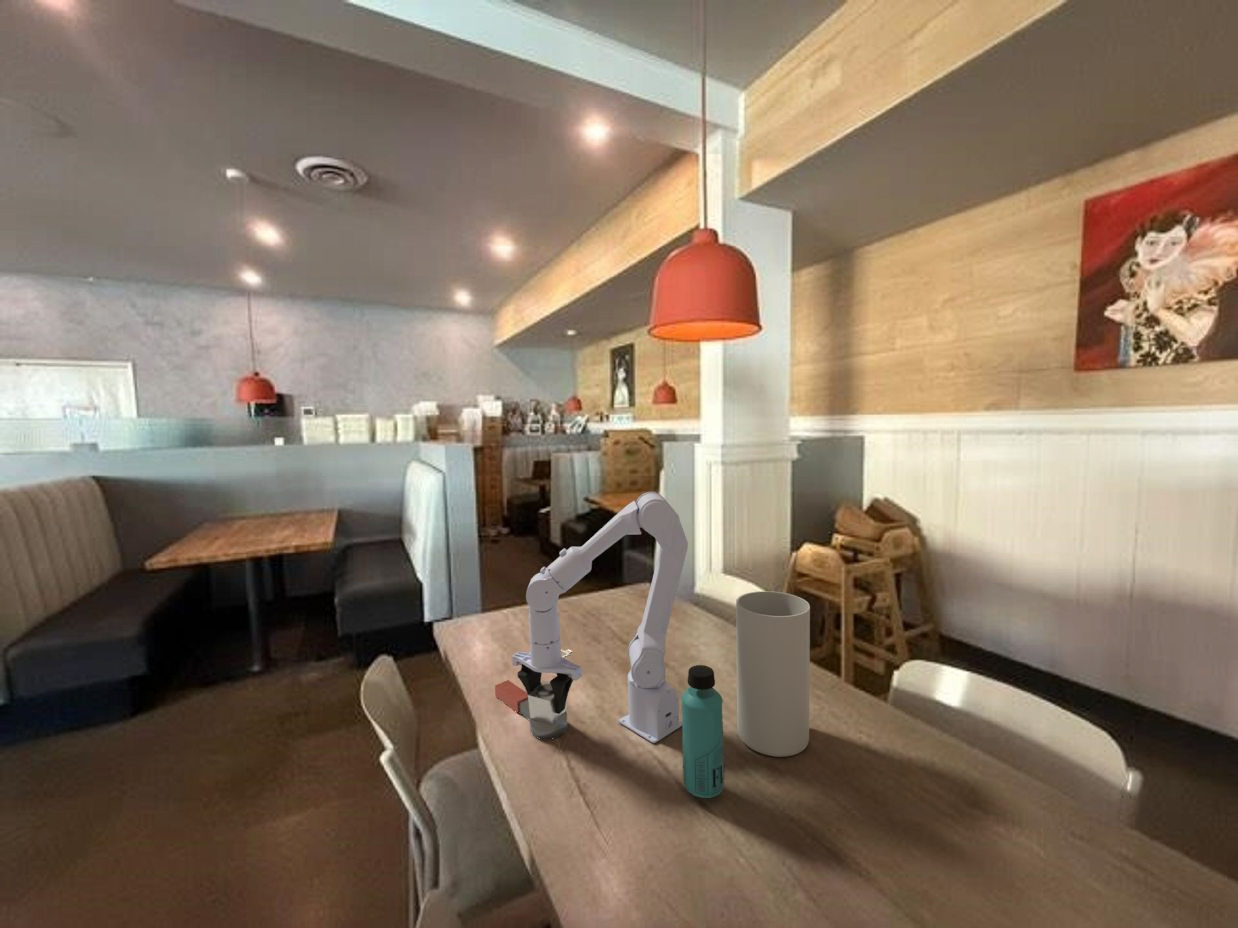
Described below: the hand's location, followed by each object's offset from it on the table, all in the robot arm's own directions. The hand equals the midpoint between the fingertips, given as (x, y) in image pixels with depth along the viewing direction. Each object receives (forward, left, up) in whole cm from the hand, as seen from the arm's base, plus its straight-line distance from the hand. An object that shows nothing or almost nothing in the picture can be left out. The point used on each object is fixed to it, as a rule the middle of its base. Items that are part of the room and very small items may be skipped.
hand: (548, 707), depth 98 cm
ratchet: (+7, 0, -4) cm, 8 cm away
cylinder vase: (-31, -28, -4) cm, 42 cm away
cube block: (0, 0, -2) cm, 2 cm away
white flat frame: (+20, -25, -5) cm, 32 cm away
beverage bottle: (-31, -8, -4) cm, 32 cm away
